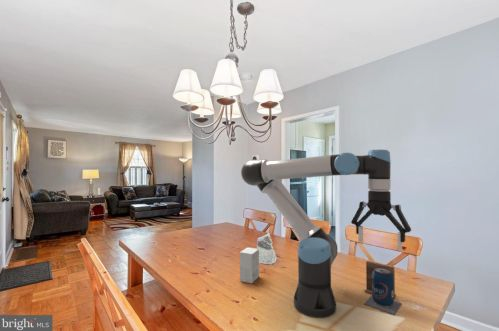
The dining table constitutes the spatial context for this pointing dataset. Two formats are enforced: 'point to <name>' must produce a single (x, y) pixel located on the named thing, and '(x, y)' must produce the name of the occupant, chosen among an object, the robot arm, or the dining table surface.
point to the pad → (390, 309)
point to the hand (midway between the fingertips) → (379, 246)
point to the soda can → (382, 286)
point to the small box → (249, 265)
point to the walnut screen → (369, 270)
